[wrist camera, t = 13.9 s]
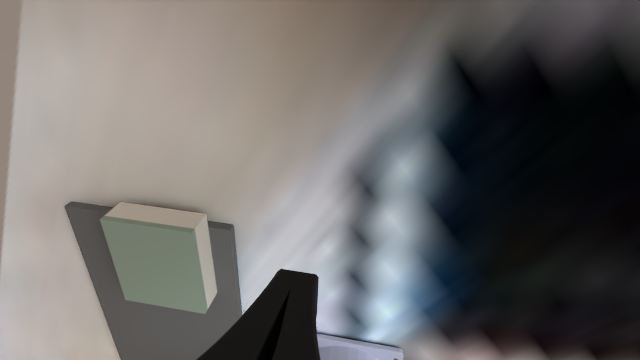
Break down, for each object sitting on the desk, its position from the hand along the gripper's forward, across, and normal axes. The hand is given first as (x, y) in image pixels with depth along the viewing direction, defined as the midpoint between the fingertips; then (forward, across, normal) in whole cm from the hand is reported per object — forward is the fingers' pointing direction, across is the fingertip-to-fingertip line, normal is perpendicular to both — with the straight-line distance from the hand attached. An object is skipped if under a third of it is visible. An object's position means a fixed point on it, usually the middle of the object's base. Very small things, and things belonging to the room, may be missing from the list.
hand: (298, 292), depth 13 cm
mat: (+9, +12, +15) cm, 22 cm away
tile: (+8, +14, +7) cm, 18 cm away
